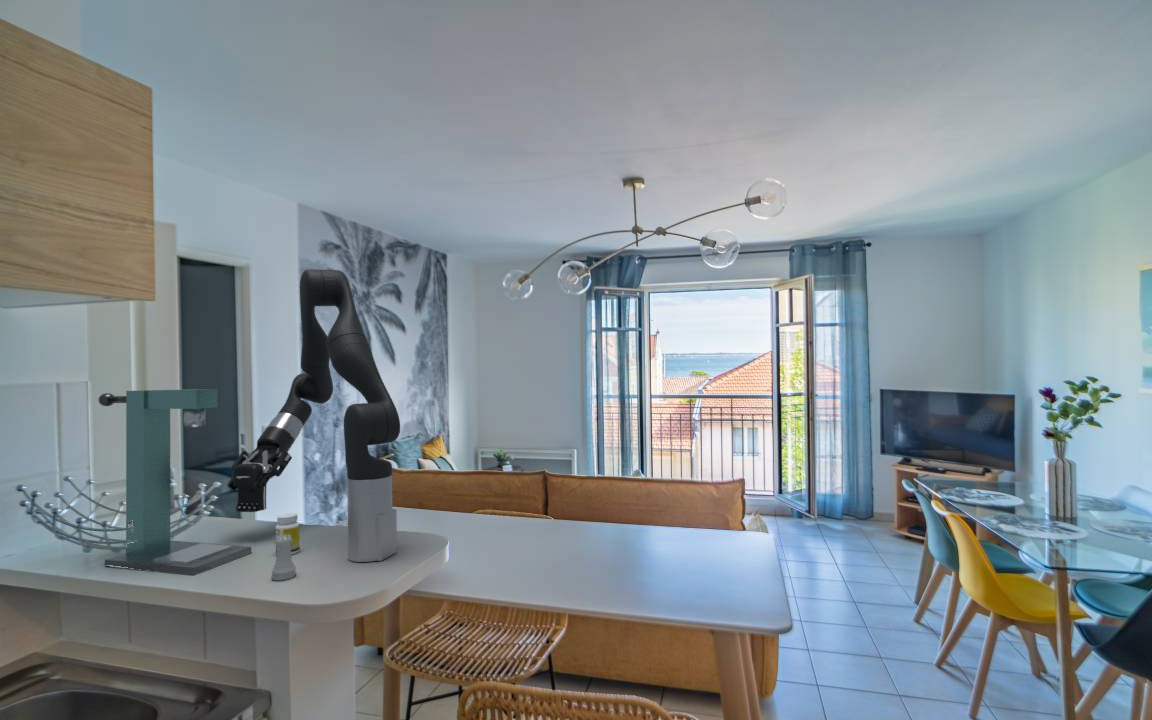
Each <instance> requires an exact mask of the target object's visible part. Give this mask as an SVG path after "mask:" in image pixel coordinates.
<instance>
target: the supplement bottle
mask: <svg viewBox="0 0 1152 720" xmlns="http://www.w3.org/2000/svg"><path fill="white" fill-rule="evenodd" d="M276 520H277V523H276V526H275V538H276V537H278V536H280V535H282V537H284V535H286V537H288V535H291V538H292V539H293V541H292V542H291V547H292V548H291V556H292V555H295V554H298V553H299V552H300V547H301V546H300V522H298V514H297V513H296V512H291V513H288V512H287V513H283V514H279V515H278V516H277V519H276ZM276 549H277V545H276V544H275V555H276V556H277V551H276Z"/></svg>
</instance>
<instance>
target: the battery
mask: <svg viewBox="0 0 1152 720" xmlns="http://www.w3.org/2000/svg"><path fill="white" fill-rule="evenodd" d="M263 469H264V466H263V464H261V463H251V462H250V463H244V464H241V465H238V466H236V467H235V468H234V471H233V472H232V477H233V486H237V489H236V490H237V498H238V499H237V504H236V508H235V510H236V512H239V513H257V512H261V511H265V510H267V484H266V485H265V487H264V488H263V489H262V490H261V491H257V490H256V489H254V487H253V485H254V484H255V482H256V481H257V479H258V478H259V476H260V475H261V473H262V474H264V473H263Z"/></svg>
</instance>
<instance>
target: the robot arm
mask: <svg viewBox="0 0 1152 720" xmlns="http://www.w3.org/2000/svg"><path fill="white" fill-rule="evenodd" d="M299 303H300V304H299V305H300V306H299V307H300V322H301V324H300V325H301V332H302V333H301V335H302V337H301V340H302V342H301V343H302V344H301V346H302V347H301V356H300V368H301V370H302V373H300V374H298V375H296V376H295V377H294V378H293V381H292V382H291V386H290V389H289V392H288V396H287V399H286V400H285V402H284V404H283V406H282V407H281V409H280V410H279V411H278V413H277V414H276V415H275V417H274V418H272V419H271V421H270V423H269V424H268V425H267V426H266V428H265V429H264V431H263V432H262V434H260V436H259V438H257V441H256V448H255V449H254V450H253V451H251V452H248V451H247V450H242V451H241V452H240V454H239V456H238V457H236V460H235V461H234V463H233V464H232V466H231V467H230V471H232V473H233V471H234V468H235V467H236V466H238V465H241V464H244V463H261V464H263V466H264V469H263V473H264V474H262V473H261V475H260V476H259V478H258V479H257V481H256V482H255V484H254V485H253V487H254V489H256V490H257V491H261V490H262V489H263V488H264V487H265V485H266V486H267V484H268V482H269V481H270V480H271V479H272V478H274V477H280V476H281V475H282V474H283V472H284V470H285V469H286V468H287V466H288V465H289V463H290V462H291V460H292V458H293V456H291V454H290V453H289V451H290V449H291V447H292V446H293V444H294V443H295V441H296V440H297V439H298V437H299V435H300V433H301V431H302V429H303V428H304V426H305V424H306V423H307V421H308V420H309V419H310V417H311V415H312V414H313V413H312V412H313V409H312V407H311V405H310V404H309V403H308V402H307V401H309V402H312V403H316V404H321V405H322V404H326V403H328V401H329V400H330V399H331V398H332V395H333V392H334V383H333V378H332V374H331V370H330V362H331V365H332V367H333V369H334V370H335V372H336V373H337V374H338V375H339V376H340V377H341V378H342V379H343V380H344V381H346V382H347V383H348V384H350V385H351V386H352V387H353V388H355V390H357V391H358V393H360V395H362V396H363V398H364V399H365V401H366V403H365V402H363V403H353V404H350V405H349V406H347V408H346V410H345V412H344V415H343V416H344V417H343V435H344V436H343V437H344V438H343V439H344V450H345V451H344V452H345V453H344V456H345V457H344V458H345V465H346V466H345V467H346V475H347V478H346V479H347V480H346V481H347V491H346V492H347V494H346V495H347V558H348V560H349V561H351V562H355V563H356V562H357V563H366V562H369V563H370V562H375V561H376V562H377V561H378V562H382V561H384V560H385V559H387V558H389V557H390V556H393V555H394V554H396V553H398V532H397V529H398V527H397V526H398V525H397V524H398V520H397V518H398V517H397V509H395V508H393V465H392V464H393V463H392V462H390V461H389V460H386V459H380V458H377V457H375V456H373V455H371V454H370V451H369V446H375V445H376V446H377V445H385V444H390V443H393V442H395V441H396V440H397V439H398V438H399V436H400V433H401V420H400V417H399V413H398V410H397V407H396V405H395V403H394V401H393V399H392V397H391V395H390V393H389V392H388V389H387V387H386V385H385V383H384V382H383V379H382V376H381V375H380V372H379V369H378V367H377V364H376V361H375V359H374V356H373V352H372V349H371V347H370V342H369V341H368V338H367V336H366V334H365V331H364V329H363V326H362V324H361V321H360V318H359V316H358V313H357V309H356V304H355V300H354V297H353V292H352V289H351V286H350V281H349V280H348V277H347V275H346V274H345V273H344V272H343V271H341V270H337V269H316V268H315V269H314V268H313V269H305V270H304V271H302V273H301V275H300V281H299ZM316 307H335V308H337V309H338V315H337V318H336V320H335V321H334V324H333V325H332V327H331V328H330V330H329V332H328V334H327V333H326V332H325V330H324V329H323V327H322V326H321V324H320V323H319V320H318V319H317V317H316V311H315V310H316V309H315V308H316ZM227 488H228V489H230V490H231V491H236V490H238V489H237V486H233V476H232V477H231V479H230V480H229V481H228V483H227Z"/></svg>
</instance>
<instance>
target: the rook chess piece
mask: <svg viewBox="0 0 1152 720" xmlns="http://www.w3.org/2000/svg"><path fill="white" fill-rule="evenodd" d="M292 541H293V539H292V538H291V535H288V537H286V535H284V537H282V535H280V536H278V537H276V536H275V541H274V542H273V543H274V544H275V546H276V545H277V549H276V548H275V552H276V551H277V555H276V559H275V564H274V566H273V568H272V569H271V573H272V574H271V577H270V578H271V580H273V581H278V582H281V581H287V580H291V579H293V578H295V576H296V575H297V571H296V570H297V566H296V565H295V564H294V563H295V562H293V558H292V555H291V548H292V547H291V542H292Z"/></svg>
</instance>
